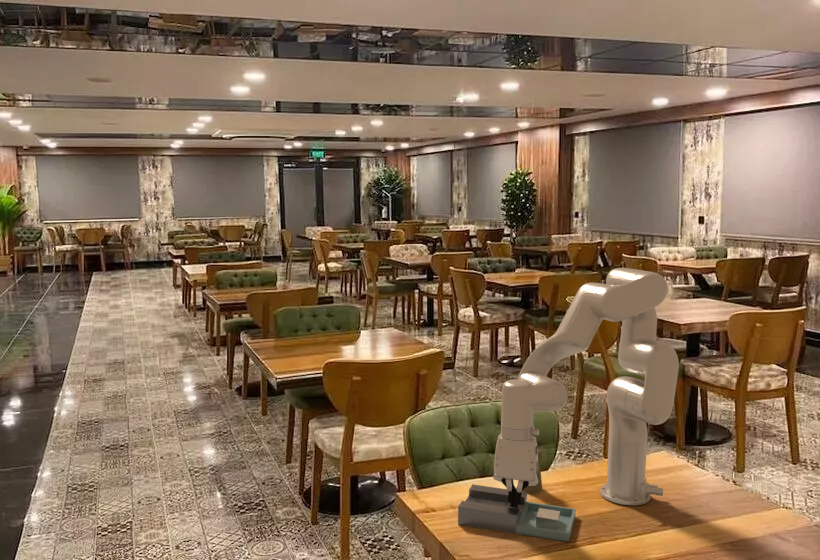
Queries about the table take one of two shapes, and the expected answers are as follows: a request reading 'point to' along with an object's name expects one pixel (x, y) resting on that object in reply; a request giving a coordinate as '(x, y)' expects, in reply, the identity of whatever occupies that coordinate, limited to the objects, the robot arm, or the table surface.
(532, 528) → the tray
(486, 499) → the slotted ledge
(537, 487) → the brown pepper mill
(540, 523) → the tan square block
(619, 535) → the table surface
